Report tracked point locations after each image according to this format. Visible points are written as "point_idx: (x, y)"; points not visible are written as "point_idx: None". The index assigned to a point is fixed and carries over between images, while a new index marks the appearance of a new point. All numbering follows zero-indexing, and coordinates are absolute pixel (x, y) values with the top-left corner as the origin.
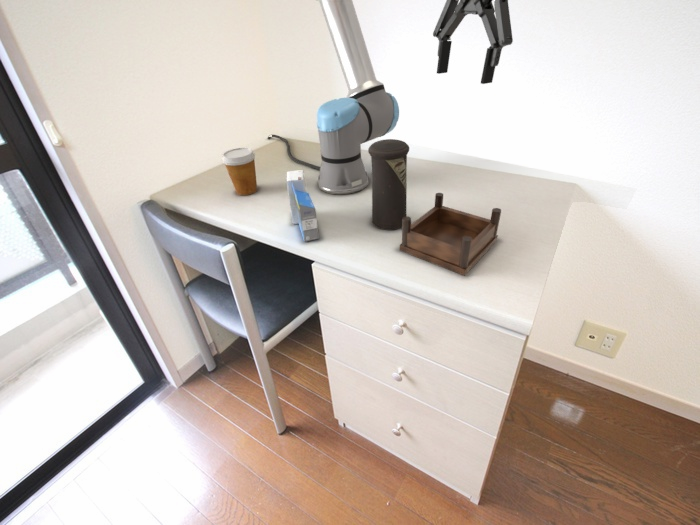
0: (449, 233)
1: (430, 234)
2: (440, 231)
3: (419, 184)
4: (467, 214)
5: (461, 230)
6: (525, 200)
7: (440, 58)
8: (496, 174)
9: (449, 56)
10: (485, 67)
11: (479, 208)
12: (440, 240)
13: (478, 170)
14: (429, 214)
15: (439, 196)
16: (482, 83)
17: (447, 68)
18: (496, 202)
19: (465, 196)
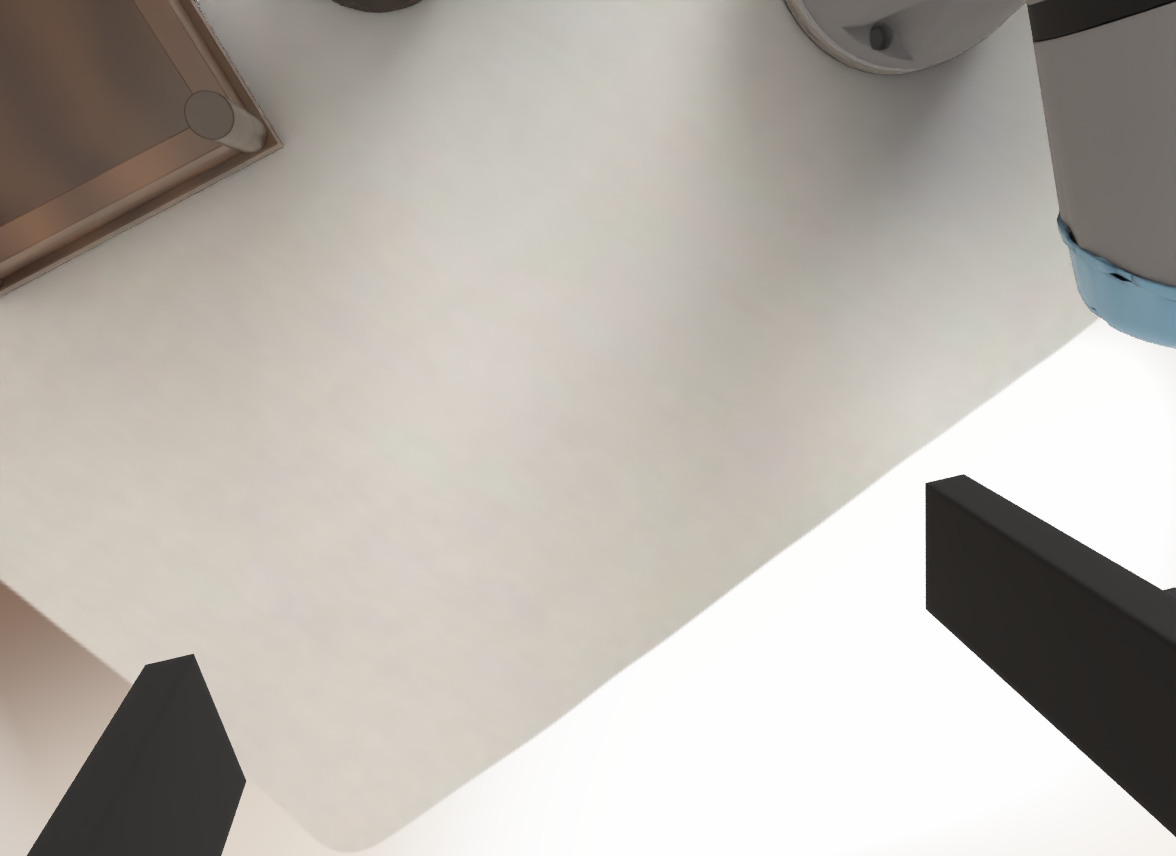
0: (77, 99)
1: (102, 3)
2: (113, 69)
3: (677, 295)
4: (69, 205)
5: (85, 173)
6: (302, 626)
7: (1065, 568)
8: (587, 663)
9: (1059, 730)
10: (73, 814)
11: (318, 409)
12: (22, 13)
13: (664, 619)
14: (146, 15)
15: (188, 102)
16: (160, 664)
17: (955, 631)
18: (338, 509)
19: (455, 421)
